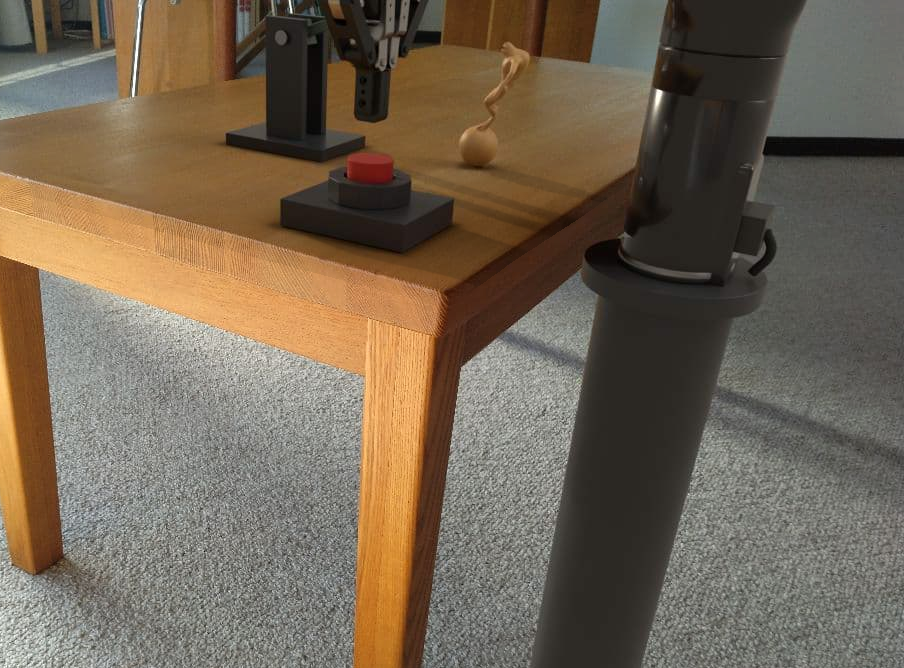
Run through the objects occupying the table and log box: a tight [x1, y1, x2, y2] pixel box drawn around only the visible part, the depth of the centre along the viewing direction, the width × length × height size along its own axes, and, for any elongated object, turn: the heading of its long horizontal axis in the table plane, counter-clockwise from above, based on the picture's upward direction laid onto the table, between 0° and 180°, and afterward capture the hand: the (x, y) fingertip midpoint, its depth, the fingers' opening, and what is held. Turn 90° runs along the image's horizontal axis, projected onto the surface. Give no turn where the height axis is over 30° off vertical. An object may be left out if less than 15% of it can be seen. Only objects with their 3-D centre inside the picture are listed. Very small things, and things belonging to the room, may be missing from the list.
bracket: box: [225, 12, 366, 163], centre depth 93 cm, size 12×9×13 cm
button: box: [346, 152, 395, 183], centre depth 70 cm, size 4×4×2 cm
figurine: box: [458, 41, 531, 167], centre depth 89 cm, size 8×6×12 cm
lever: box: [307, 19, 330, 47], centre depth 88 cm, size 12×5×2 cm, turn 61°
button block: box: [279, 166, 455, 254], centre depth 71 cm, size 11×9×4 cm
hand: (370, 120), depth 69 cm, fingers closed
